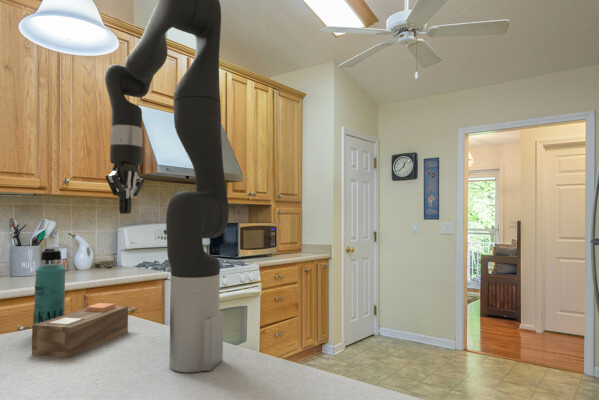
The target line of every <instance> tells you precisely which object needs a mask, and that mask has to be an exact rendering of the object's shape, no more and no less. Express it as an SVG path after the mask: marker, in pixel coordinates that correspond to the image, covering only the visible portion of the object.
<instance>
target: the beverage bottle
mask: <svg viewBox="0 0 599 400" xmlns="http://www.w3.org/2000/svg"><path fill="white" fill-rule="evenodd" d="M40 260H41V261H56V260H57V261H58V260H62V252H61V250H54V249H53V250H45V251H42V252H41V258H40ZM65 289H66V267H65V266H64V265H62V264H59V263H50V264H48V263H47V264H41V265H40V266H38V267H37V268H36V269H35V283H34V304H33V308H34V310H33V317H32V318H33V325H34V324H37V323H41V322H44V321H47V320H50V319H53V318H56V317H60V316H63V315H66V312H65V304H66V302H65V301H66V295H65V294H66V293H65V292H66V291H65Z"/></svg>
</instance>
